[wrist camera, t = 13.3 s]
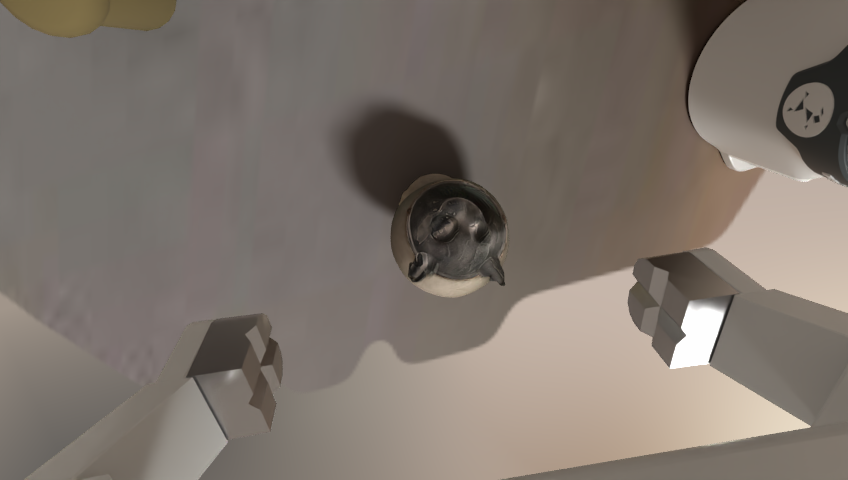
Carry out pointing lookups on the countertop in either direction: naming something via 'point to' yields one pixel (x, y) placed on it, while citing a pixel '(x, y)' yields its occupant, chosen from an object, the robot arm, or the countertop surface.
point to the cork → (90, 14)
